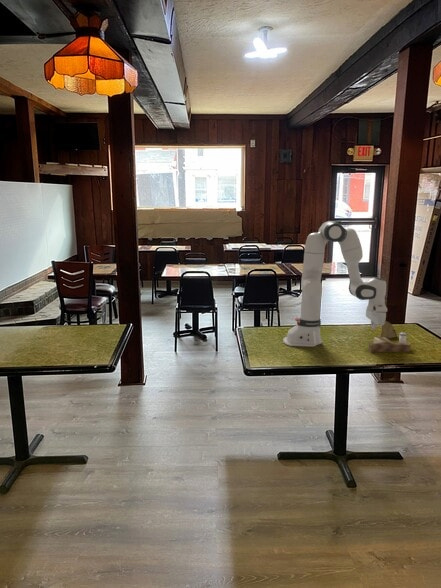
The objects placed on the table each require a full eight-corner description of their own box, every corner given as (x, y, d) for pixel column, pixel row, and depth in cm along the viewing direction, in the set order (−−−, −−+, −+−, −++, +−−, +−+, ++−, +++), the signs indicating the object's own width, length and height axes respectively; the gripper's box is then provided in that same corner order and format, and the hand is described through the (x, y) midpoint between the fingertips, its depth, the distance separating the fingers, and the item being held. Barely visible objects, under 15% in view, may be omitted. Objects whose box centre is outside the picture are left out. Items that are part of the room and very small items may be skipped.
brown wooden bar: (370, 352, 236) (371, 345, 235) (368, 350, 239) (369, 343, 238) (410, 351, 237) (410, 344, 236) (407, 349, 240) (408, 342, 239)
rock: (396, 331, 267) (379, 328, 269) (400, 322, 260) (383, 319, 263) (396, 345, 260) (379, 342, 262) (400, 337, 254) (382, 334, 256)
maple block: (379, 350, 239) (380, 341, 238) (373, 346, 247) (373, 337, 246) (390, 350, 240) (390, 341, 239) (383, 345, 248) (383, 337, 247)
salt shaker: (400, 348, 243) (401, 334, 241) (397, 345, 246) (398, 332, 245) (406, 347, 243) (408, 334, 241) (403, 345, 247) (404, 332, 245)
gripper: (364, 301, 259) (362, 323, 262) (377, 309, 239) (374, 333, 242) (374, 301, 260) (372, 323, 263) (388, 309, 240) (386, 333, 243)
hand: (373, 328), depth 252 cm, fingers closed
